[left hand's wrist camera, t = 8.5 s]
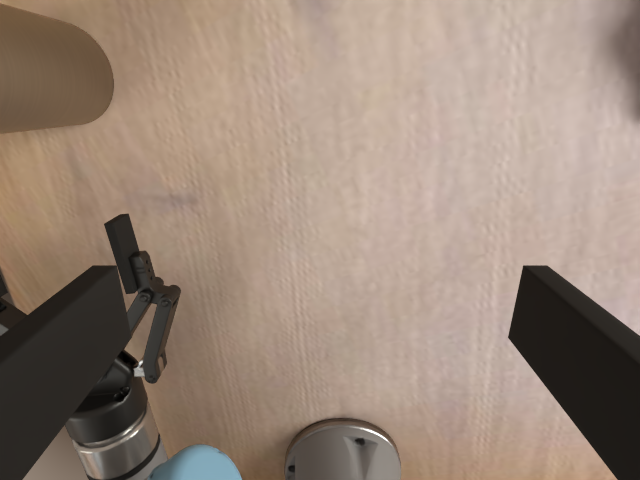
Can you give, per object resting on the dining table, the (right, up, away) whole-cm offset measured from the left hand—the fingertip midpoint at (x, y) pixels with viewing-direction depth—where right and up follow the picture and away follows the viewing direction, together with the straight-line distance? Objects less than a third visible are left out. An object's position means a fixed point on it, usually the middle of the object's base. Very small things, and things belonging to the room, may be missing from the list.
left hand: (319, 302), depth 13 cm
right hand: (-24, +3, +20) cm, 32 cm away
